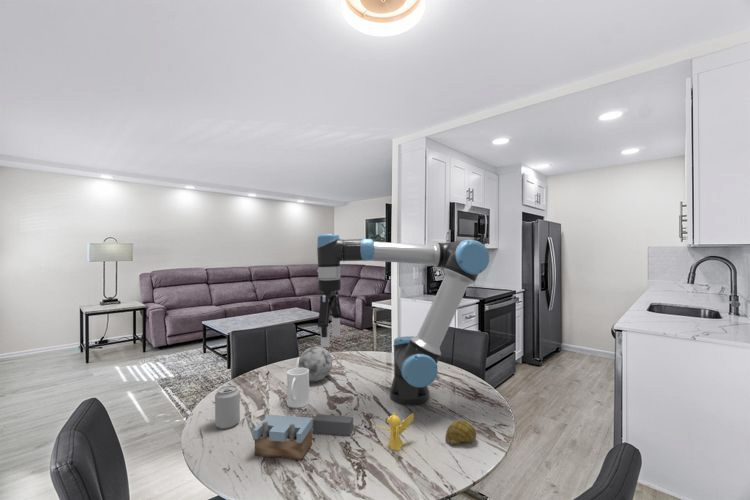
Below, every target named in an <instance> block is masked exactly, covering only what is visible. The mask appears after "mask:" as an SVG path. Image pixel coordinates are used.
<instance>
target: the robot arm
mask: <svg viewBox="0 0 750 500" xmlns="http://www.w3.org/2000/svg"><path fill="white" fill-rule="evenodd" d="M316 246H317V250H316V251H317V269H316V272H317V276H318V279H319V280H318V283H317V284H318V291H319V292H323V295H320V296H319V298H320V299H319V300H320V301H319V302H320V304H319V309H318V310H319V312H318V313H319V314H318V318H317V319H318V320H317V325H316V326H317V328H320V347H322V348H330V347H331V342H330V341H331V339H330V326H329V323H330V317H331V316H332V318H331V322H332V323H331V326H332V327H331V328H332V331H331V332H332V337H341V318H342V317H343V314H342V310H341V309H342V308H341V302H340V298H339V292H340V290H341V289H342V288H341V286H342V285H341V284H342V283H341V279H340V278H341V262H359V261H360V262H385V263H402V264H403V263H404V264H406V263H407V264H421V265H432V266H433V267H434V268H440V269H441V268H442V269H443V271H444V274H445V275H444V278H443V280H442V281H441V284H440V286H439V289H438V290H437V293H436V295H435V297H434V299H433V301H432V304H431V305H430V307H429V310H427V311H428V312H427V314H426V316H425V317H424V320H423V322H422V325H421V326H420V328H419V331H418V332H417V335H416V336H415V335H414V336H411V335H410V336H398V337H396V338H394V340H393V367H394V368H393V373H394V374H393V375H394V376H393V379H392V382H391V385H390V389H389V397H390V399H391V400H392V401H393V402H395V403H398V404H400V405H407V406H408V405H409V406H410V405H411V406H412V405H420V404H421V405H422V404H423V403H426V402H427V401H428V400H429V399H430V391H429V387H428V386H430V385H431V384H433V382H434V381H435V380H436V379H437V376H438V374H439V373H438V362H439V360H440V358H441V356H442V352H441V349H440V347H441V345H442V343H443V341H444V338H445V337H446V334H447V331H448V330H449V328H450V326H451V324H452V321H453V319H454V316H455V315H456V313H457V310H458V307H460V304H461V302H462V301H463V297H464V295H465V293H466V291H467V288H468V286H470V285H472V284H475V282H476V280H477V279H478V275H479V274H481V273H483V272H484V271H485V270H486V269H487V268H488V266H489V263H490V254H489V251H488V249H487V247H486V245H484V244H483V243H482V242H480V241H478V240H475V239H465V240H456V241H452V242H451V241H450V242H435V243H434V244H420V243H417V244H416V243H404V242H403V243H402V242H386V241H374V240H373V239H372V238H353V239H352V238H350V239H341V238H340V235H339V234H338V233H321V234H319V235H318V236H317V244H316Z"/></svg>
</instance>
